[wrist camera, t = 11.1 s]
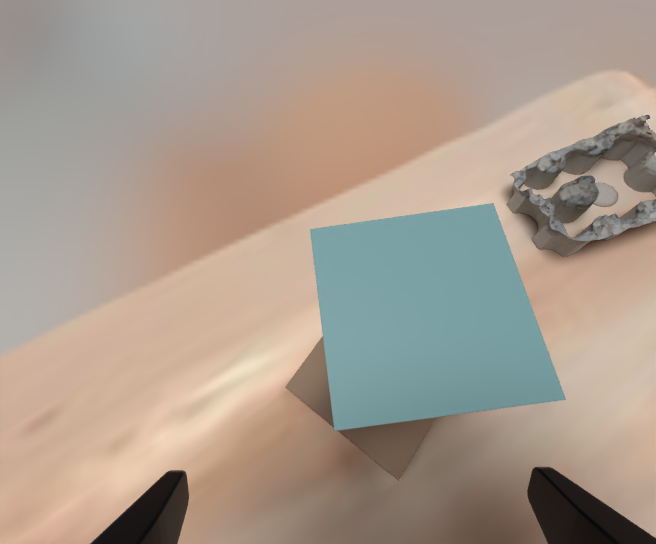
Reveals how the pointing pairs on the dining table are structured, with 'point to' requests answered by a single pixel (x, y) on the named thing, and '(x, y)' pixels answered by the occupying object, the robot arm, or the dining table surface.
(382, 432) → the walnut plinth
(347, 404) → the teal block
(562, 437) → the dining table surface
